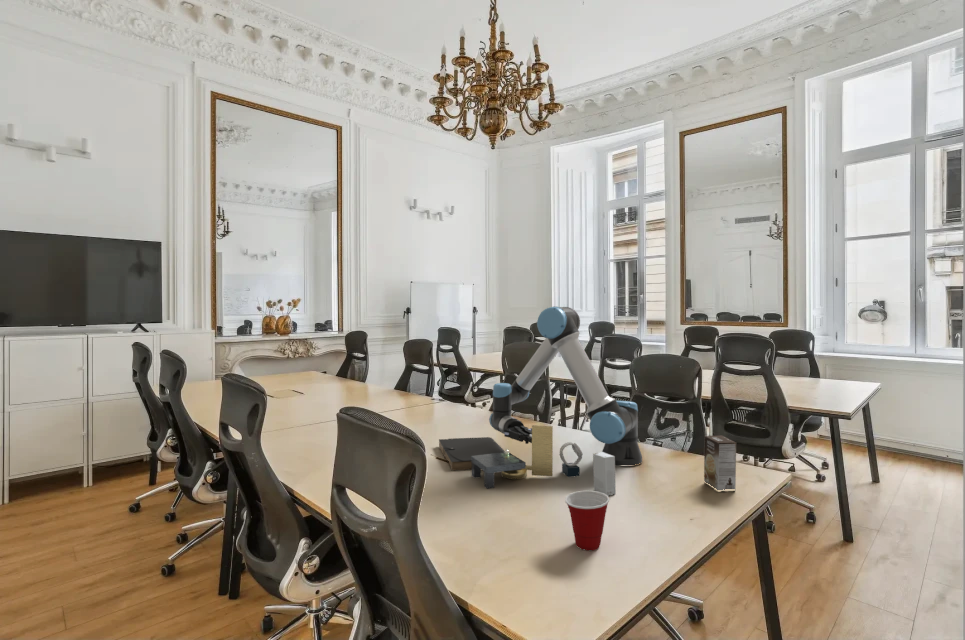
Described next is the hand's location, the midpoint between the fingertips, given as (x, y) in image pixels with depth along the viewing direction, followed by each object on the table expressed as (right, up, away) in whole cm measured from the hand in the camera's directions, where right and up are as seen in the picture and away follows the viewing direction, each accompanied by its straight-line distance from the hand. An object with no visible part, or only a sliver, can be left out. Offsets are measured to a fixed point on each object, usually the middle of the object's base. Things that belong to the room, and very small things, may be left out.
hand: (539, 442), depth 177 cm
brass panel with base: (-5, -12, +1) cm, 13 cm away
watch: (+11, -12, +3) cm, 17 cm away
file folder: (-23, -12, +26) cm, 37 cm away
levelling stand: (-15, -12, -3) cm, 19 cm away
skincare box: (+19, -12, -15) cm, 27 cm away
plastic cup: (+6, -13, -52) cm, 54 cm away
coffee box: (+57, -12, -11) cm, 60 cm away
